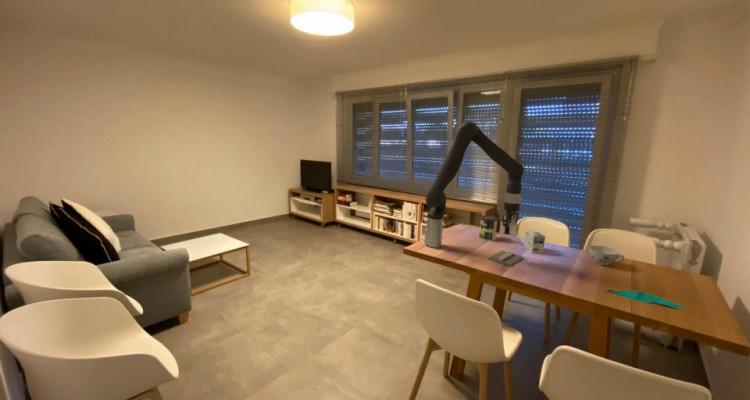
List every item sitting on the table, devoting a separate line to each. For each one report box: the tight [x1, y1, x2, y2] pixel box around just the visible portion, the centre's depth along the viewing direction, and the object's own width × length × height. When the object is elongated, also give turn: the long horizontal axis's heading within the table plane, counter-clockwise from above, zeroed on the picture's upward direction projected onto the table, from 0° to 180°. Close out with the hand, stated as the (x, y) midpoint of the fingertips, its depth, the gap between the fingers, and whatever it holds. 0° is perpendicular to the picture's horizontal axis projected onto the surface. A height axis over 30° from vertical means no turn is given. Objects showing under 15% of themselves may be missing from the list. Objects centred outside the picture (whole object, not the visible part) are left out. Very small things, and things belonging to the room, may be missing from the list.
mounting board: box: [487, 250, 525, 267], centre depth 169 cm, size 12×16×1 cm
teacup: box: [589, 245, 625, 267], centre depth 164 cm, size 15×12×8 cm
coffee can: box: [478, 215, 499, 242], centre depth 201 cm, size 10×10×14 cm
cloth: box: [606, 288, 688, 310], centre depth 130 cm, size 26×14×2 cm, turn 46°
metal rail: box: [497, 251, 515, 261], centre depth 169 cm, size 3×14×1 cm, turn 132°
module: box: [499, 221, 520, 238], centre depth 165 cm, size 8×4×6 cm, turn 42°
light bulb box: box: [523, 229, 546, 254], centre depth 182 cm, size 11×7×11 cm, turn 179°
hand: (508, 232), depth 166 cm, fingers closed on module, 4 cm apart
